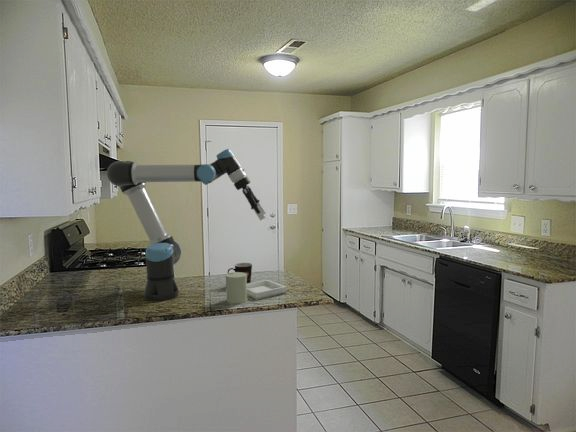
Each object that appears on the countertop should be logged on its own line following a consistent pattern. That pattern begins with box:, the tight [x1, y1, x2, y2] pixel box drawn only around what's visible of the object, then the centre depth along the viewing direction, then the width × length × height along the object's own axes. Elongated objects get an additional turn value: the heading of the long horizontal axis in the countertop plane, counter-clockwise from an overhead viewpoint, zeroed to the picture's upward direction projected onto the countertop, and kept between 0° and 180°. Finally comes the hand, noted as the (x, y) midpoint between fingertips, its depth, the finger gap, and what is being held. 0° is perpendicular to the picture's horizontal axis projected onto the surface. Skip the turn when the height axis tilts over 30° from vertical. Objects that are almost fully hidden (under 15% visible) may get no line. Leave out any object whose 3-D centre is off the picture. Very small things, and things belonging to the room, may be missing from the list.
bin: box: [247, 279, 287, 301], centre depth 189 cm, size 16×16×3 cm
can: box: [225, 271, 248, 305], centre depth 177 cm, size 9×9×12 cm
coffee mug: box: [227, 262, 253, 283], centre depth 202 cm, size 12×9×10 cm
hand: (263, 216), depth 198 cm, fingers open, 13 cm apart
